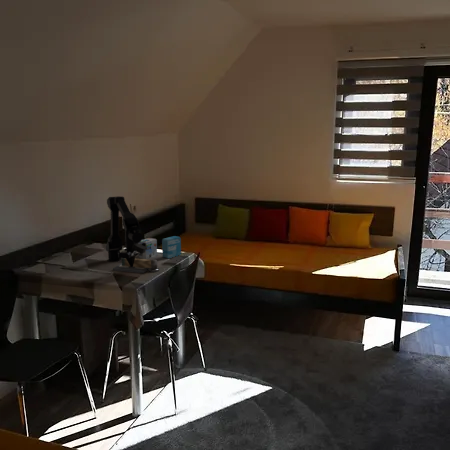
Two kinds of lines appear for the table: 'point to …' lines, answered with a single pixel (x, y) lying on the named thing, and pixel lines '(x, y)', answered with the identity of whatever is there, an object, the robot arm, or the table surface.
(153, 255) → the light bulb box
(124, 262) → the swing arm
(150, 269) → the pivot base
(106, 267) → the table surface
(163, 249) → the data package
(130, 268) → the label board
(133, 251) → the robot arm
